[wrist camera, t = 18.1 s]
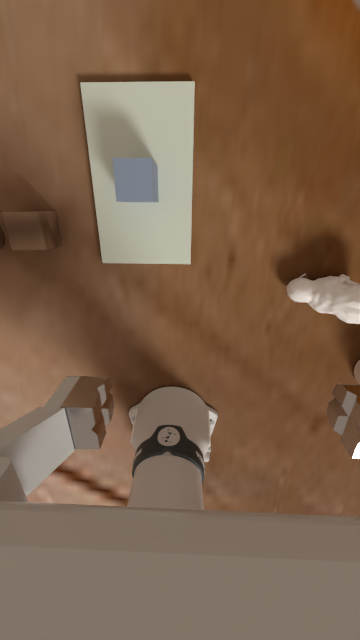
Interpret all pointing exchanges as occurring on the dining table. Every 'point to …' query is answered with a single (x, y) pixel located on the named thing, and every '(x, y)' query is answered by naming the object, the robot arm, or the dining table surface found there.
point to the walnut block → (32, 230)
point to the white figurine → (329, 296)
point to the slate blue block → (135, 180)
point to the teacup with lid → (357, 371)
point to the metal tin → (2, 238)
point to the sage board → (142, 142)
